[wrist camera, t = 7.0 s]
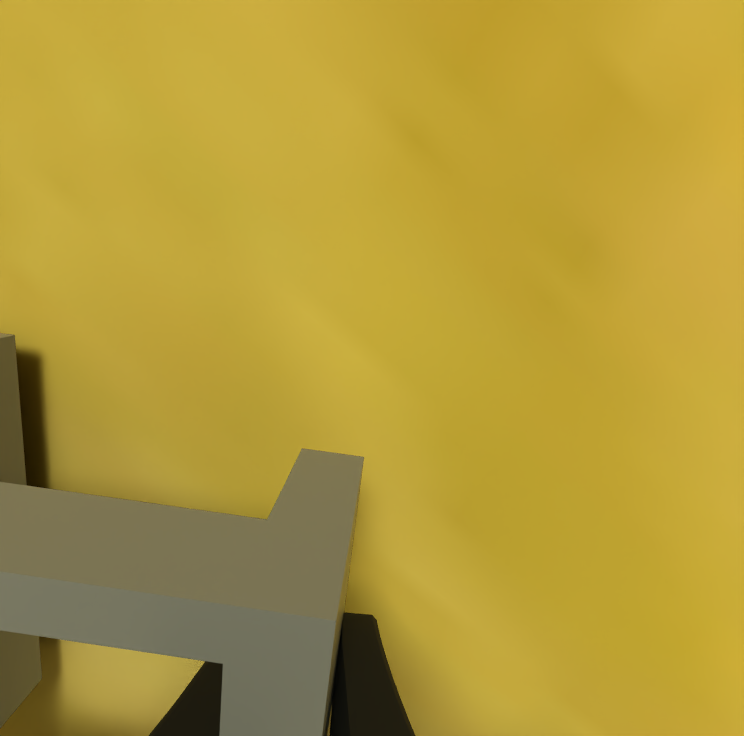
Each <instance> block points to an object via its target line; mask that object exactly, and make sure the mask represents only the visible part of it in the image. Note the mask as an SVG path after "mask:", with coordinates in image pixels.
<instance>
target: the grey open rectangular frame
mask: <svg viewBox="0 0 744 736" xmlns="http://www.w3.org/2000/svg"><path fill="white" fill-rule="evenodd" d="M363 461H364V457H360V456H353V455H346V454H339V453H331V452H324V451H317V450H309V449H302V450H301V452H300V454H299V456H298V458H297V460H296V462H295V464H294V466H293V468H292V470H291V472H290V474H289V476H288V478H287V480H286V483H285V485H284V487H283V489H282V491H281V493H280V495H279V497H278V499H277V501H276V503H275V505H274V507H273V509H272V511H271V513H270V515H269V517H268V519H267V520H266V519H259V518H252V517H245V516H238V515H231V514H224V513H217V512H210V511H203V510H196V509H189V508H181V507H174V506H167V505H160V504H153V503H146V502H139V501H132V500H125V499H118V498H111V497H104V496H97V495H90V494H83V493H76V492H69V491H62V490H54V489H47V488H40V487H33V486H27V483H26V471H25V458H24V446H23V433H22V421H21V408H20V396H19V383H18V371H17V358H16V346H15V335H11V334H3V333H0V728H1V727H2V726H3V725H4V723H5V722H6V721H7V720H8V719H9V717H10V716H11V715H12V714H13V713H14V711H15V710H16V709H17V708H18V707H19V705H20V704H21V703H22V702H23V701H24V699H25V698H26V697H27V696H28V695H29V693H30V692H31V691H32V690H33V689H34V687H35V686H36V685H37V684H38V683H39V681H40V680H41V679H42V670H41V658H40V645H39V636H41V637H48V638H55V639H61V640H68V641H75V642H81V643H88V644H95V645H101V646H108V647H115V648H121V649H128V650H135V651H141V652H148V653H155V654H161V655H168V656H175V657H181V658H188V659H195V660H201V661H208V662H215V663H221V664H223V672H222V693H221V714H220V735H219V736H328V735H329V727H330V719H331V710H332V699H333V691H334V683H335V675H336V668H337V660H338V652H339V644H340V636H341V628H342V620H343V614H344V609H345V602H346V594H347V586H348V578H349V570H350V562H351V555H352V547H353V539H354V531H355V523H356V516H357V508H358V500H359V492H360V484H361V476H362V469H363Z"/></svg>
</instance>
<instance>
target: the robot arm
mask: <svg viewBox="0 0 744 736" xmlns="http://www.w3.org/2000/svg"><path fill="white" fill-rule="evenodd" d="M222 672H223V664H221V663H215V662H208V661H205V663H204V664H203V666H202V667H201V668H200V670H199V671H198V672H197V674H196V675H195V676H194V678H193V679H192V681H191V682H190V683H189V685H188V686H187V687H186V689H185V690H184V691H183V693H182V694H181V695H180V697H179V698H178V700H177V701H176V702H175V703H174V705H173V706H172V707H171V709H170V710H169V711H168V712H167V714H166V715H165V716H164V717H163V719H162V720H161V721H160V722H159V723H158V725H157V726H156V727H155V728H154V730H153V731H152V732H151V733H150V735H149V736H219V735H220V714H221V693H222ZM330 736H415V734H414V732H413V729H412V727H411V724H410V722H409V719H408V717H407V714H406V712H405V709H404V706H403V704H402V701H401V699H400V696H399V694H398V691H397V688H396V685H395V683H394V680H393V677H392V674H391V671H390V668H389V665H388V662H387V659H386V655H385V652H384V649H383V645H382V642H381V638H380V634H379V630H378V625H377V620H376V619H375V618H374V617H373V615H366V614H354V613H344V614H343V620H342V628H341V636H340V644H339V652H338V660H337V668H336V675H335V683H334V691H333V699H332V710H331V723H330Z"/></svg>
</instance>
